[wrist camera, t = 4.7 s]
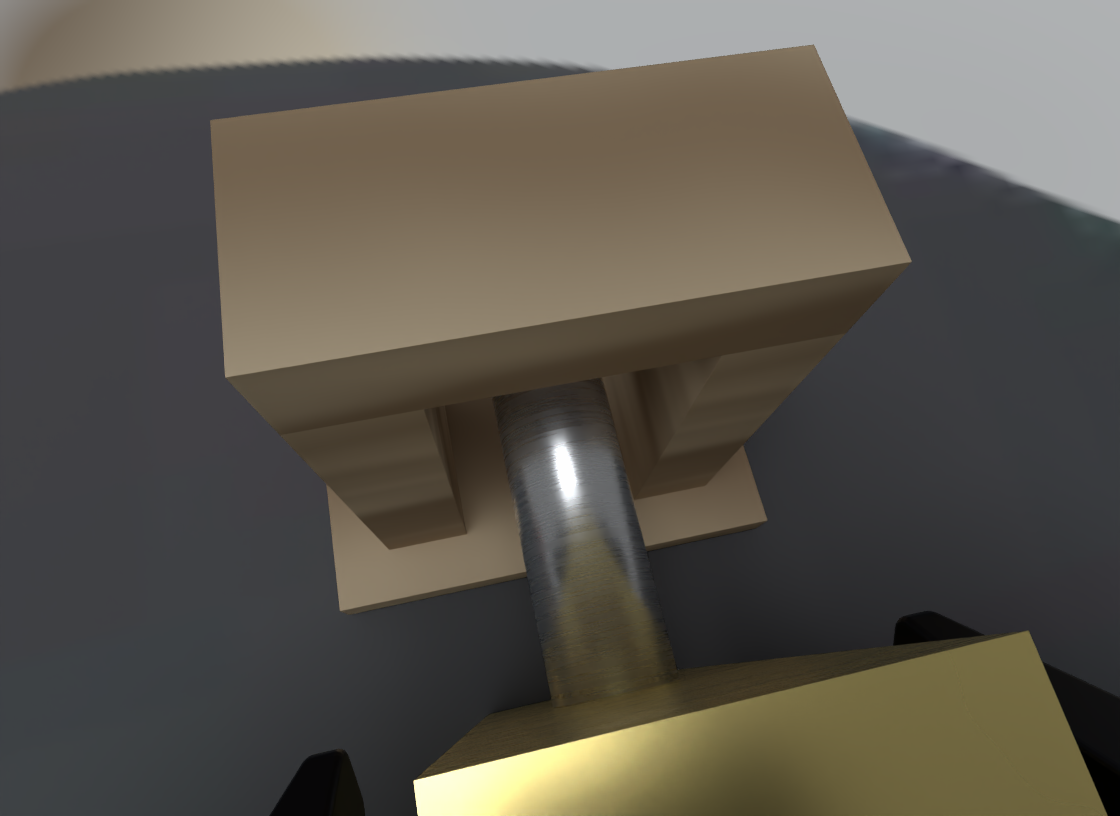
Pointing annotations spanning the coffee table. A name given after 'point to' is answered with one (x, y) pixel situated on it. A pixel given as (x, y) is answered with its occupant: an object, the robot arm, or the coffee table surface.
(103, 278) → the coffee table surface
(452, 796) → the olive block with rod
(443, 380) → the eye post
